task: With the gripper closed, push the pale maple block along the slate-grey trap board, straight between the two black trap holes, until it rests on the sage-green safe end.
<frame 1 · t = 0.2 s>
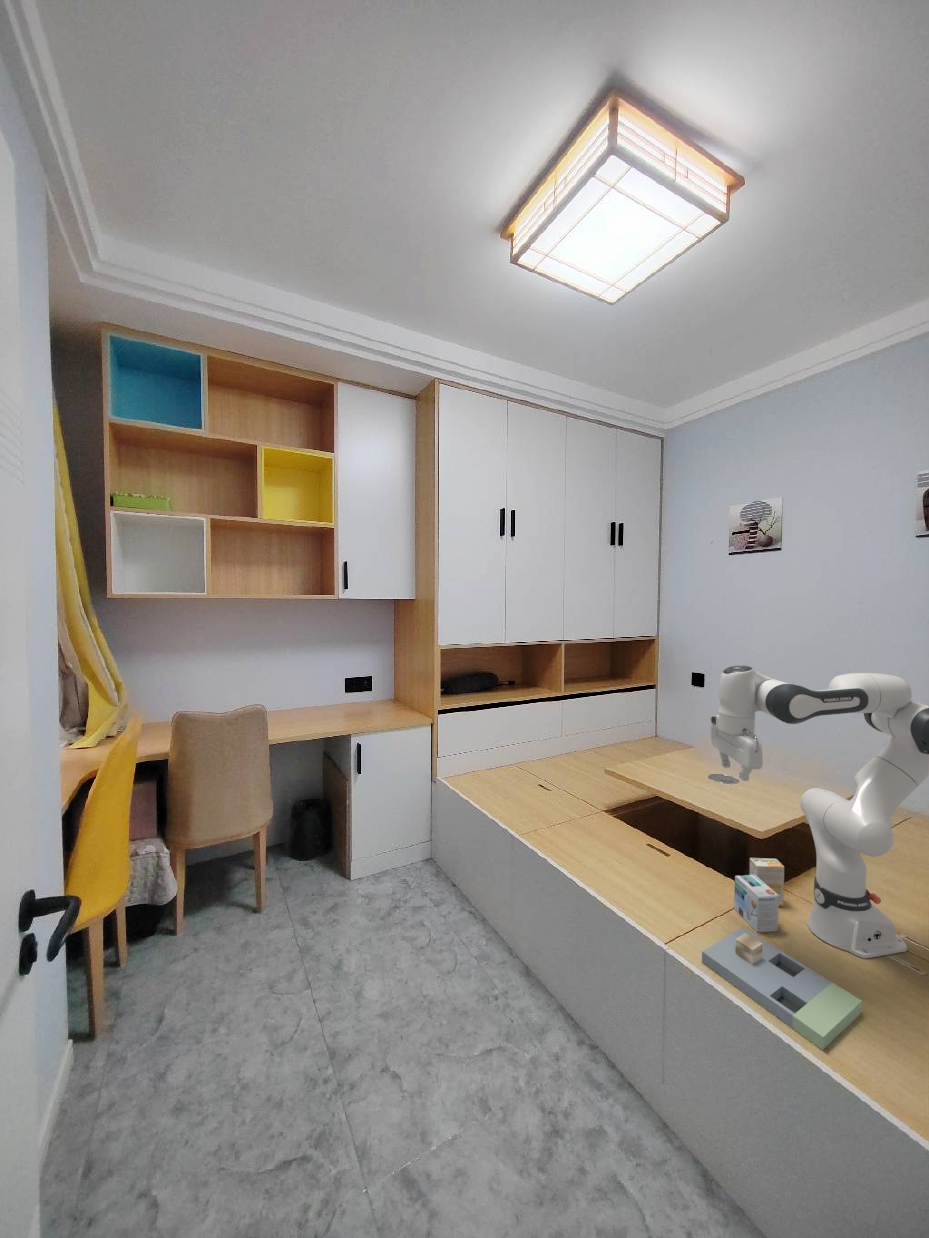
hand: (734, 773, 134), 47 cm above the table, tool pointing down, fingers open, 8 cm apart
trap board: (776, 985, 119), on the table
supplement box: (765, 902, 151), on the table
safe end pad: (827, 1020, 110), on the table
maple block: (748, 955, 125), point 3 cm above the table, touching trap board
light bulb box: (755, 920, 143), on the table
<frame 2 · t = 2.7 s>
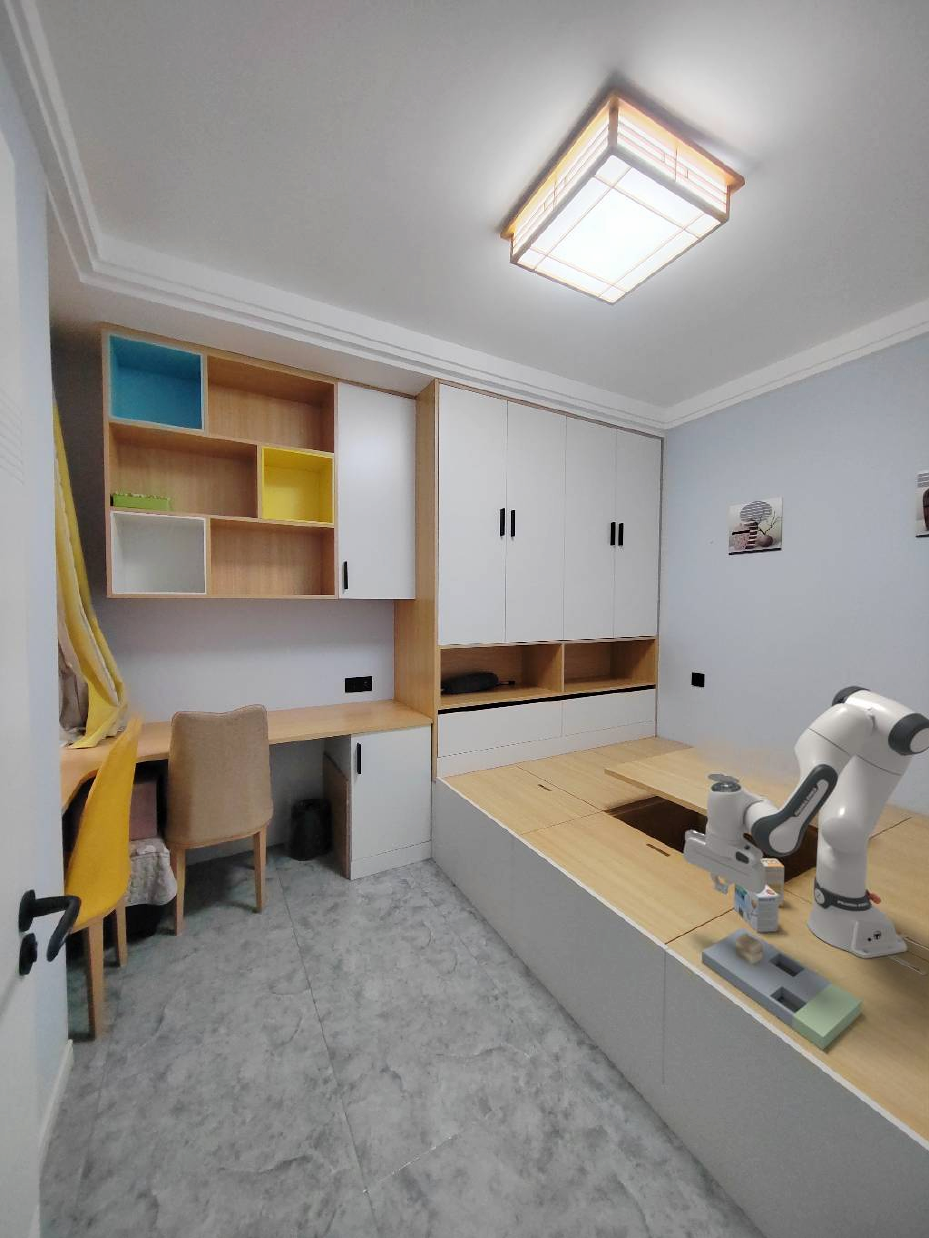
hand: (721, 891, 131), 16 cm above the table, tool pointing down, fingers closed
nothing on the table moved.
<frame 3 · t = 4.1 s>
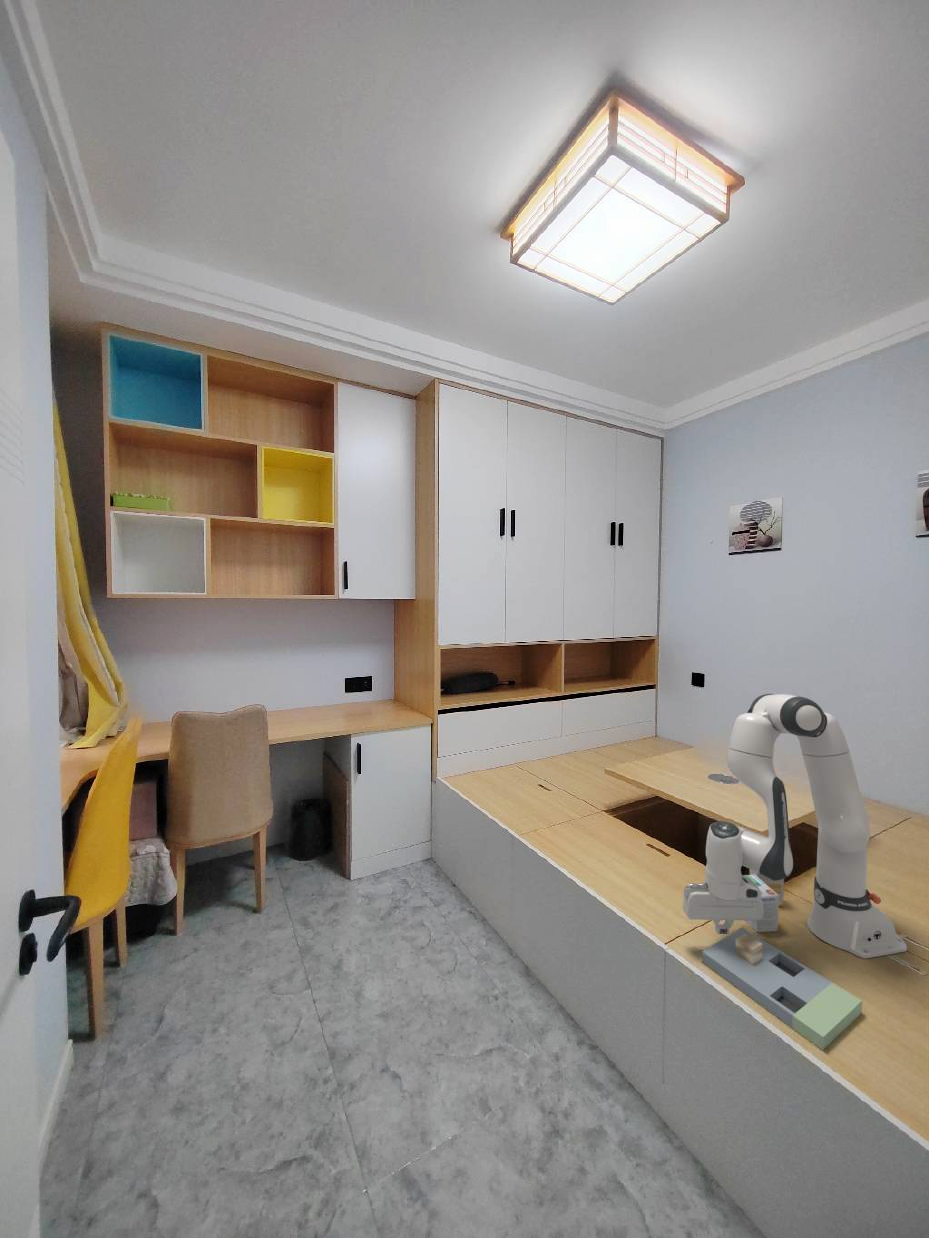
hand: (721, 932, 132), 5 cm above the table, tool pointing down, fingers closed
nothing on the table moved.
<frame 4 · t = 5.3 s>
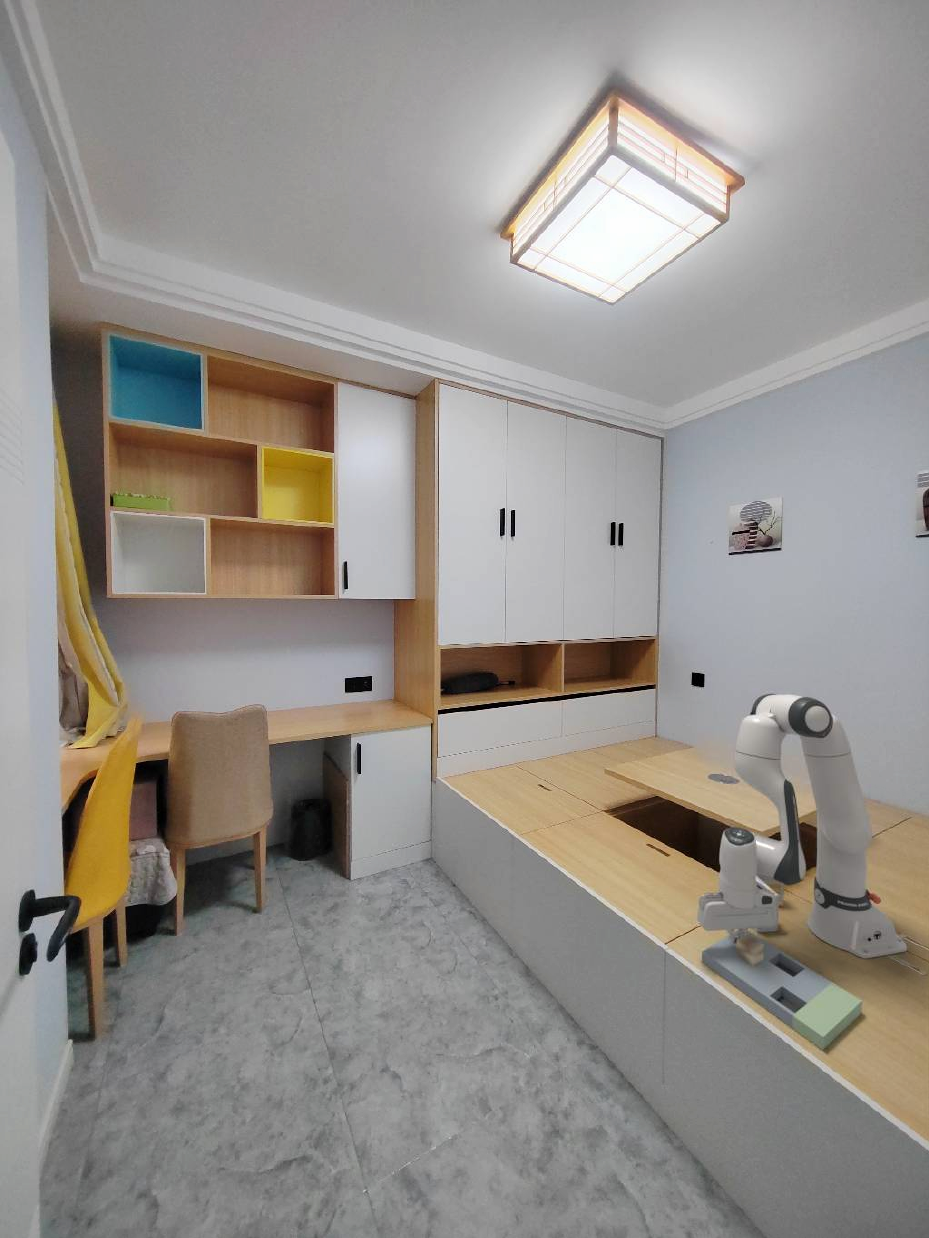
hand: (735, 941, 128), 5 cm above the table, tool pointing down, fingers closed
maple block: (749, 956, 125), point 3 cm above the table, touching gripper
everything else where it was.
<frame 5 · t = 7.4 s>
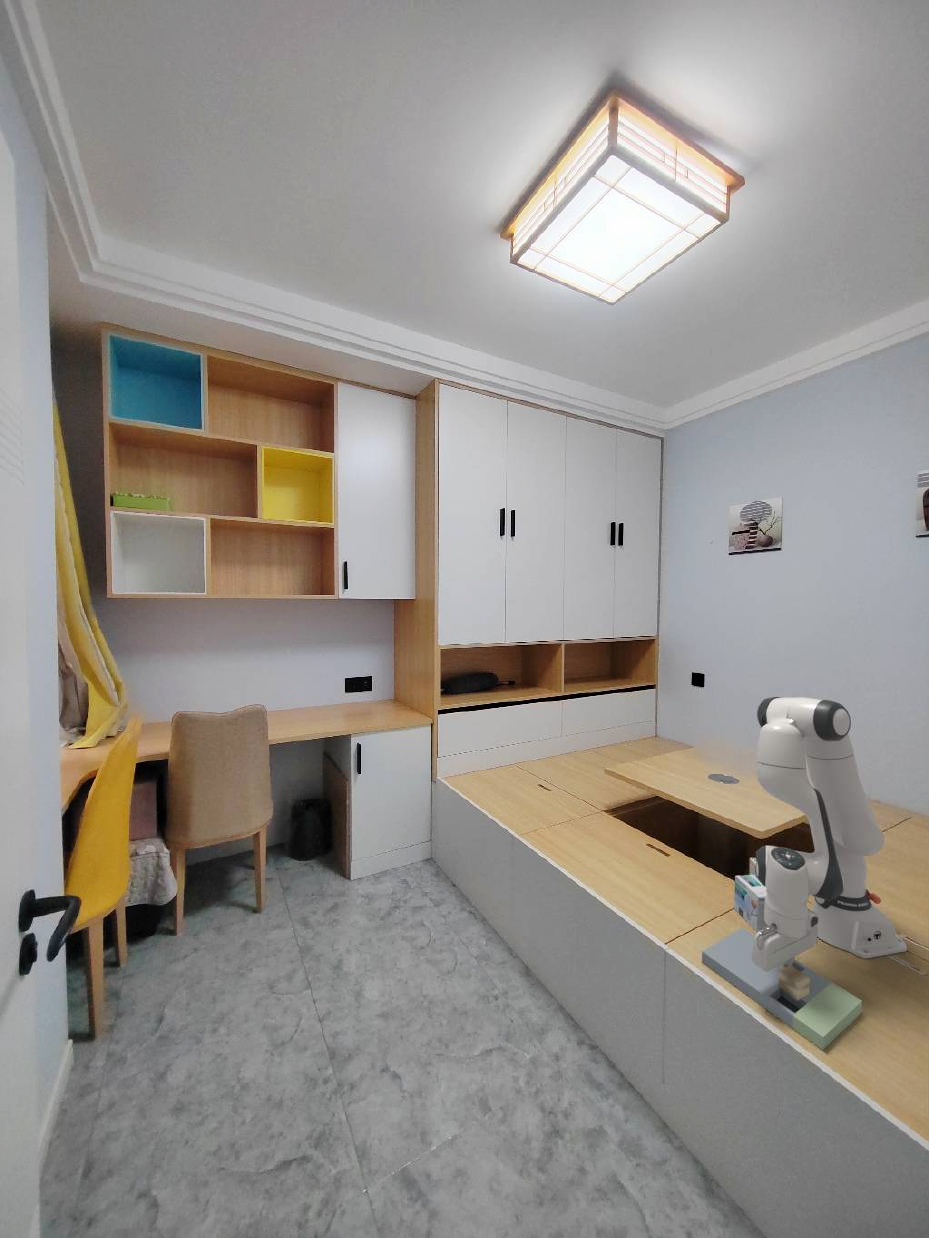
hand: (783, 972, 118), 5 cm above the table, tool pointing down, fingers closed
maple block: (793, 990, 114), point 3 cm above the table
everything else where it was.
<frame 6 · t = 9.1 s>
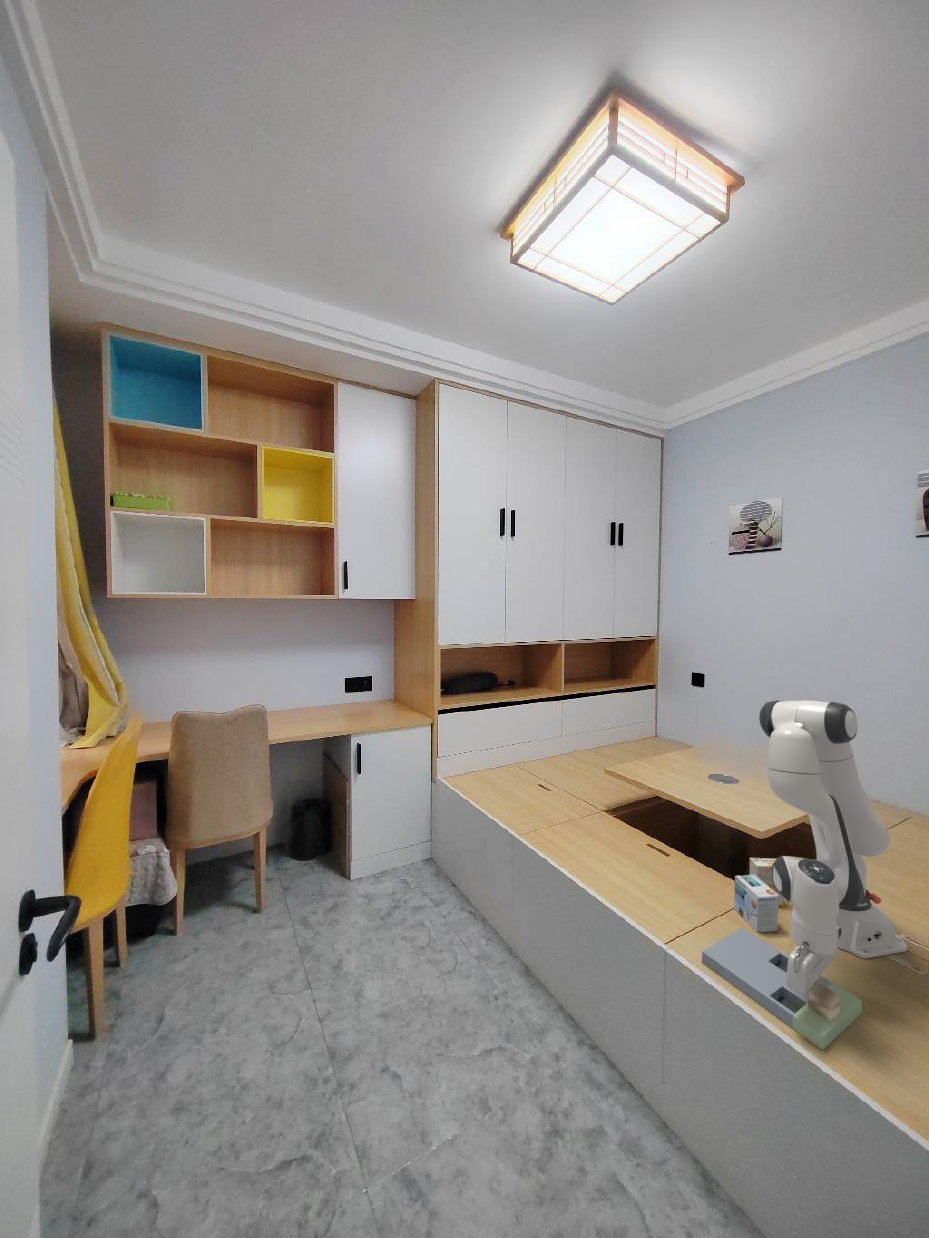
hand: (811, 990, 112), 5 cm above the table, tool pointing down, fingers closed
maple block: (823, 1009, 109), point 3 cm above the table, touching gripper
everything else where it was.
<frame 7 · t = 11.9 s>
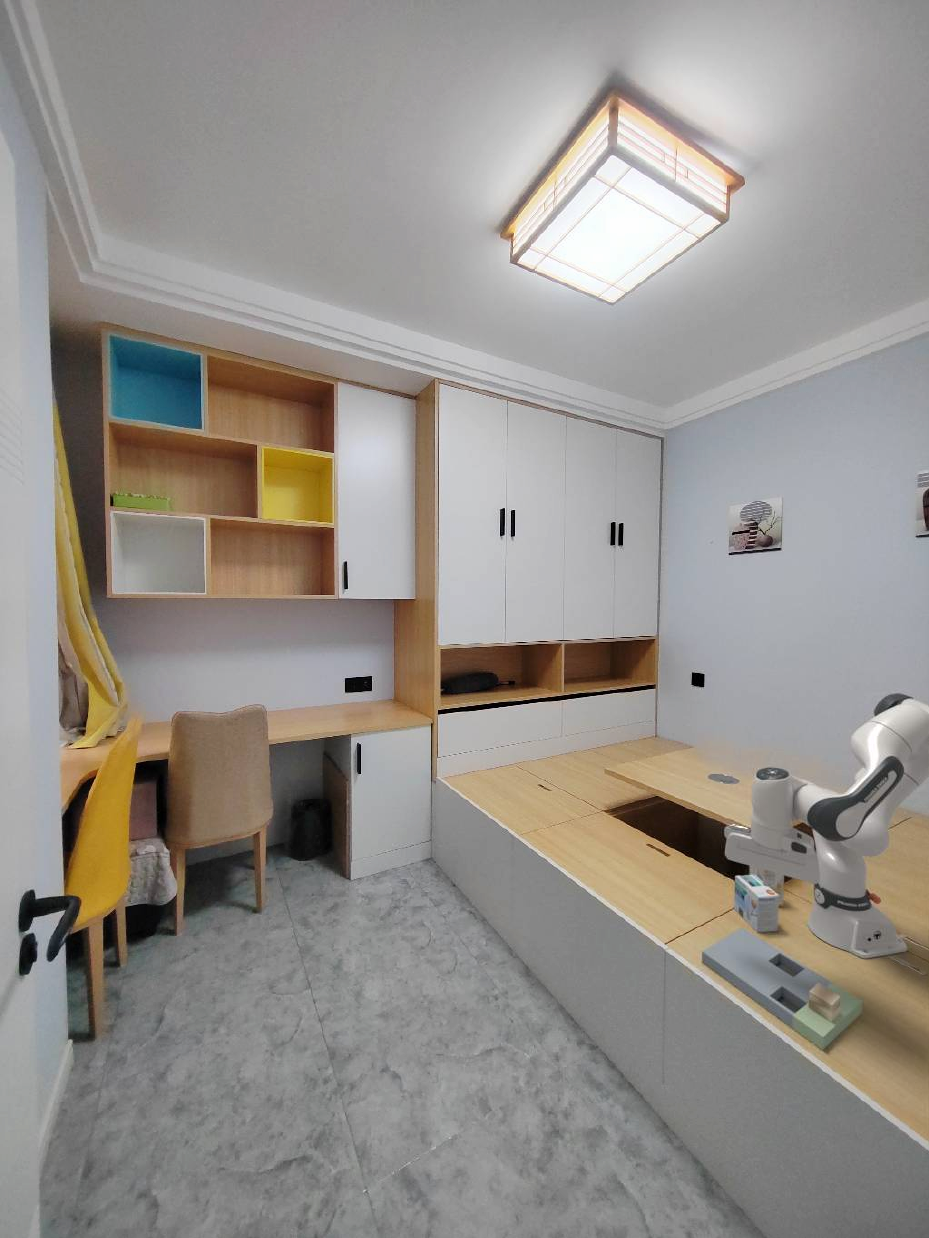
hand: (769, 886, 122), 23 cm above the table, tool pointing down, fingers closed
maple block: (824, 1010, 109), point 3 cm above the table, touching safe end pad
everything else where it was.
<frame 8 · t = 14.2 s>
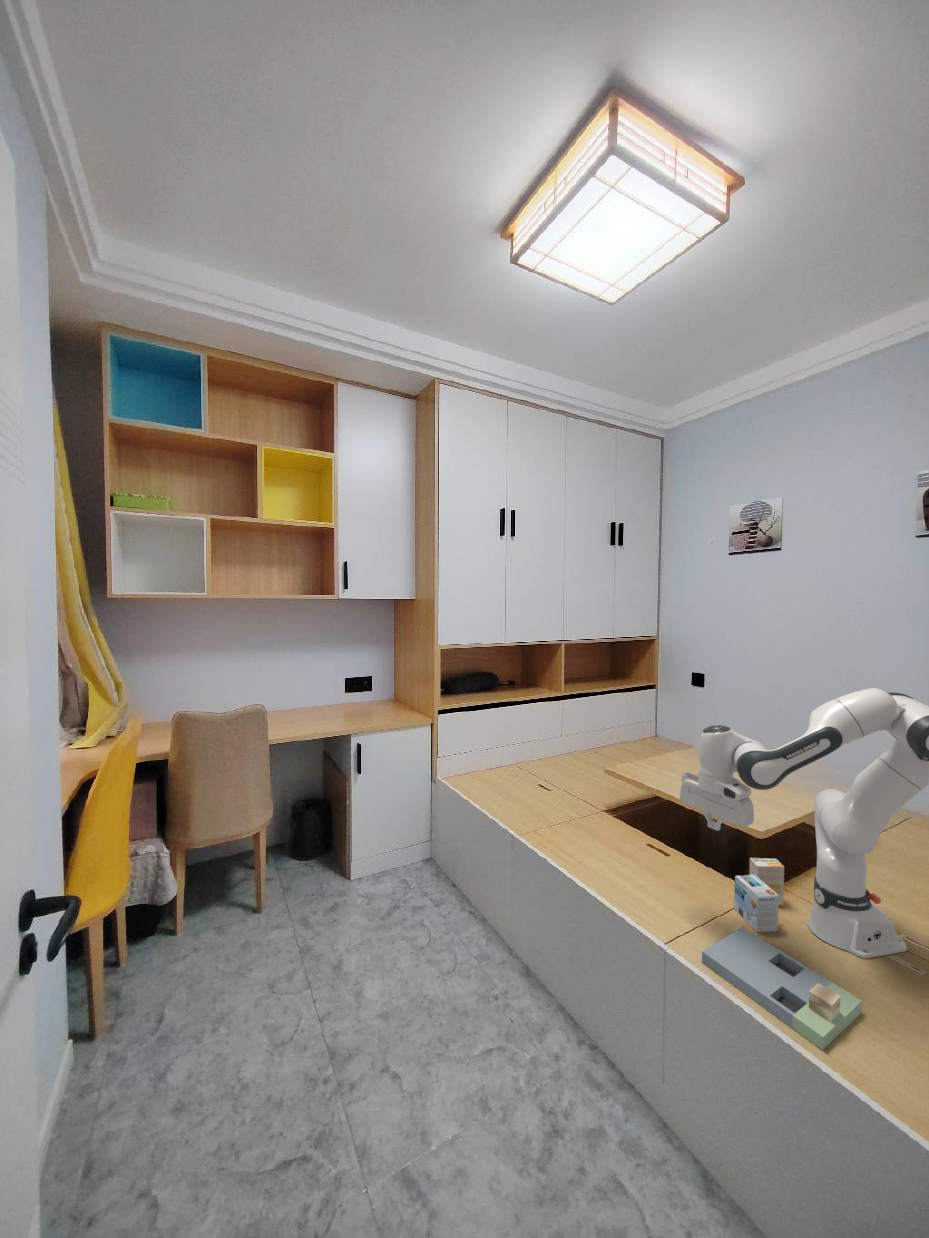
hand: (714, 828, 139), 29 cm above the table, tool pointing down, fingers closed
nothing on the table moved.
at the end: maple block 1.5 cm from the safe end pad (horizontally); maple block point 3.0 cm above the table; maple block tilted 0° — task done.
